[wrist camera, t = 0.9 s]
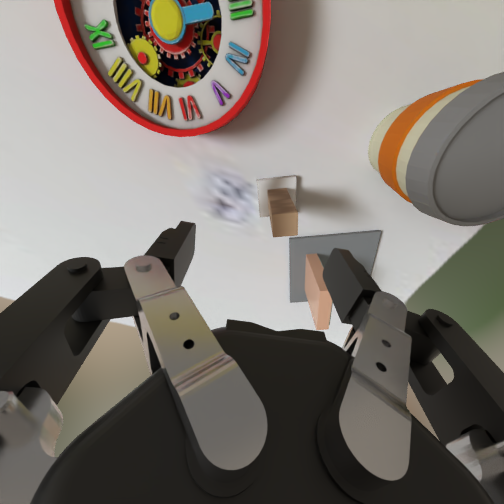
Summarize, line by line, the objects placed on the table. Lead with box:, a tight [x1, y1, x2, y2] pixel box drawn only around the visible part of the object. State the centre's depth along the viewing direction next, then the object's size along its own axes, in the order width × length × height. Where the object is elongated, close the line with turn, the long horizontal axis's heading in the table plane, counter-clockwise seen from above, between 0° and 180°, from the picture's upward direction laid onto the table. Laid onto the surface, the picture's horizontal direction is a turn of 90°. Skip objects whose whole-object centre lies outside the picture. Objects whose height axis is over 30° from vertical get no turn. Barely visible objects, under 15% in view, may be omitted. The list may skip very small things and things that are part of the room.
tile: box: [305, 253, 333, 330], centre depth 38 cm, size 2×9×10 cm, turn 6°
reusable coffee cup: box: [368, 72, 504, 226], centre depth 24 cm, size 13×13×15 cm
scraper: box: [257, 175, 298, 237], centre depth 30 cm, size 6×6×11 cm
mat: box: [289, 230, 381, 303], centre depth 42 cm, size 16×16×1 cm
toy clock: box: [54, 0, 271, 137], centre depth 22 cm, size 20×6×20 cm
